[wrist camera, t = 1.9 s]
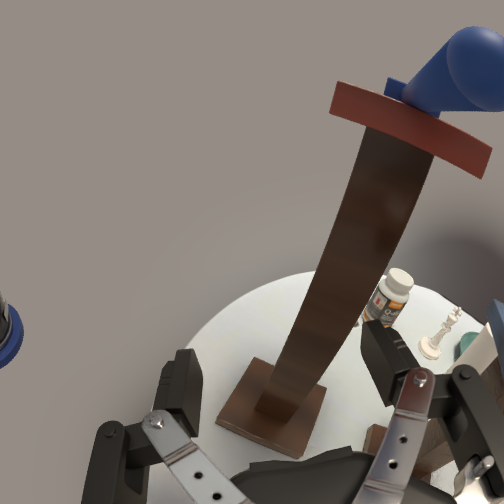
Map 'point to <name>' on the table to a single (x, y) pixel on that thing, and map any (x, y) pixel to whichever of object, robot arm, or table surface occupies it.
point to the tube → (478, 352)
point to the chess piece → (437, 337)
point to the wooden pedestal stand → (348, 262)
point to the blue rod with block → (458, 76)
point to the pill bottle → (389, 297)
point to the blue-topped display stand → (434, 442)
